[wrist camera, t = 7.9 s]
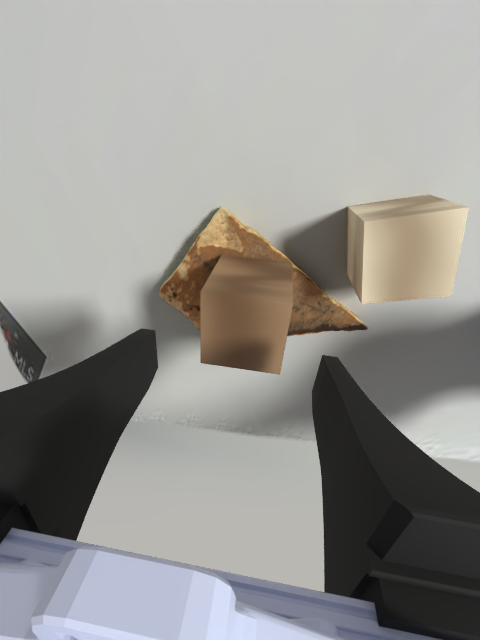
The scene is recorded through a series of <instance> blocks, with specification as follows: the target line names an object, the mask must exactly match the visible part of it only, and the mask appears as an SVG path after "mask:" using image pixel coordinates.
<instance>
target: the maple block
mask: <svg viewBox="0 0 480 640" xmlns="http://www.w3.org/2000/svg"><path fill="white" fill-rule="evenodd" d="M468 210H469V207H467V206H464V205H460V204H457V203H454V202H451V201H448V200H445V199H441V198H438V197H435V196H432V195H429V194H428V195H421V196H414V197H408V198H401V199H394V200H388V201H381V202H374V203H367V204H361V205H354V206H348V235H347V275H348V277H349V280H350V282H351V284H352V286H353V288H354V290H355V292H356V294H357V296H358V298H359V300H360V302H361V304H366V303H377V302H389V301H401V300H412V299H424V298H435V297H447V296H452V291H453V286H454V281H455V276H456V271H457V266H458V261H459V255H460V250H461V245H462V240H463V235H464V230H465V225H466V220H467V215H468Z"/></svg>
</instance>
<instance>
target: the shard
mask: <svg viewBox="0 0 480 640" xmlns="http://www.w3.org/2000/svg"><path fill="white" fill-rule="evenodd" d="M221 255H229V256H237V257H246V258H255V259H263V260H272V261H281V262H289V263H292V262H291V261H290V260H289V259H288V258H287V257H286V256H285V255H284V254H283V253H281V252H280V251H279V250H277V249H276V248H274V247H273V246H272V245H271V243H270V242H268V241H267V240H266V239H265V238H264V237H263V236H262V235H261V234H260V233H258V232H257V231H255V230H254V229H253V228H251V227H248V226H245V225H244V224H243V223H242V222H241V221H240V220H239V219H237V218H236V217H235V216H234V215H233V214H231V213H230V212H229V211H228V210H227V209H226V208H224V207H219V209H218V211H217V212H216V213H215V214H214V216H213V217H212V219H211V221H210V222H209V224H208V225H207V226H206V228H205V229H204V230H203V231H202V232H201V233H200V234H199V236H198V237H197V239H196V240H195V242H194V243H193V245H192V246H191V248H190V249H189V251H188V252H187V254H186V256H185V257H184V259H183V260H182V262H181V264H180V265H179V266H178V267H177V269H176V270H175V271H174V272H173V273H172V274H171V276H170V277H169V278H168V279H167V280H166V281H165V282H164V283H163V285H162V286H161V288H160V293H159V295H160V297H161V298H162V299H164V300H165V301H166V302H167V303H168V304H170V305H172V306H173V307H174V308H176V309H177V310H178V311H180V312H181V313H183V314H184V315H185V316H186V317H187V318H188V319H190V320H191V322H192V323H193V324H194V325H195V326H196V327H197V328H198V329H199V330H200V331H201V312H200V292H201V290H202V288H203V286H204V285H205V283H206V281H207V280H208V278H209V276H210V274H211V273H212V271H213V269H214V267H215V266H216V264H217V262H218V261H219V259H220V257H221ZM292 282H293V307H292V313H291V318H290V323H289V329H288V334H287V336H293V335H303V334H311V333H319V332H323V331H340V330H343V331H354V330H366V329H368V327H366V326H365V325H364V324H363V323H362V321H361V320H360V319H359V318H358V316H357V315H356V314H354V313H353V312H351V311H349V310H348V309H347V308H346V307H344V306H343V305H342V304H341V303H339V302H338V301H336V300H335V299H333V298H331V297H329V296H328V295H327V294H325V293H324V292H323V291H322V290H321V289H320V288H319V287H317V286H316V284H315V283H314V282H313V281H312V279H311V278H310V277H309V276H308V275H307V274H306V273H304V272H303V271H302V270H301V269H299V268H298V267H296V266H295V265H294V264H293V263H292Z"/></svg>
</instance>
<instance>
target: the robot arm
mask: <svg viewBox="0 0 480 640" xmlns="http://www.w3.org/2000/svg"><path fill="white" fill-rule="evenodd" d="M157 368H158V361H157V348H156V336H155V330H148V329H140V330H138V331H136V332H134V333H133V334H131V335H129V336H127V337H126V338H124V339H122V340H121V341H119V342H117V343H115V344H114V345H112V346H110V347H108V348H107V349H105V350H103V351H101V352H99V353H97V354H95V355H94V356H92V357H90V358H88V359H86V360H84V361H82V362H80V363H78V364H76V365H74V366H72V367H69V368H67V369H65V370H62V371H60V372H58V373H55V374H53V375H50V376H48V377H45V378H42V379H39V380H36V381H34V382H31V383H28V384H25V385H22V386H19V387H16V388H13V389H10V390H6V391H3V392H0V640H480V493H479V492H477V491H476V490H475V489H473V488H472V487H470V486H469V485H467V484H466V483H464V482H463V481H461V480H460V479H458V478H457V477H456V476H454V475H453V474H452V473H450V472H449V471H447V470H446V469H445V468H443V467H442V466H441V465H439V464H438V463H437V462H435V461H434V460H433V459H432V458H430V457H429V456H428V455H427V454H425V453H424V452H423V451H422V450H421V449H419V448H418V447H417V446H416V445H415V444H414V443H412V442H411V441H410V440H409V439H408V438H407V437H406V436H404V435H403V434H402V433H401V432H400V431H399V430H398V429H397V428H396V427H395V426H394V425H393V424H392V423H391V422H390V421H389V420H388V419H387V418H386V417H385V416H384V415H383V414H382V413H381V412H380V411H379V410H378V409H377V407H376V406H375V405H374V404H373V403H372V402H371V401H370V400H369V398H368V397H367V396H366V395H365V394H364V392H363V391H362V390H361V389H360V387H359V386H358V385H357V383H356V382H355V381H354V379H353V378H352V377H351V375H350V374H349V373H348V371H347V370H346V369H345V367H344V366H343V364H342V363H341V362H340V360H339V359H338V358H337V357H332V356H325V355H322V358H321V362H320V365H319V369H318V372H317V376H316V379H315V383H314V386H313V390H312V410H313V420H314V426H315V433H316V440H317V446H318V453H319V459H320V465H321V475H322V494H323V519H324V562H325V563H324V564H325V566H324V567H325V569H324V571H325V572H324V573H325V592H320V591H315V590H310V589H305V588H300V587H296V586H291V585H286V584H281V583H277V582H272V581H267V580H262V579H257V578H252V577H247V576H243V575H238V574H233V573H228V572H223V571H218V570H214V569H209V568H204V567H199V566H194V565H189V564H185V563H180V562H175V561H170V560H165V559H160V558H156V557H151V556H146V555H141V554H136V553H132V552H126V551H122V550H117V549H112V548H107V547H103V546H98V545H93V544H88V543H83V542H78V541H76V539H77V537H78V534H79V531H80V529H81V526H82V524H83V521H84V518H85V516H86V513H87V511H88V508H89V506H90V503H91V501H92V499H93V496H94V494H95V491H96V489H97V486H98V484H99V482H100V480H101V477H102V475H103V473H104V470H105V468H106V466H107V464H108V461H109V459H110V457H111V455H112V453H113V451H114V449H115V446H116V444H117V442H118V440H119V438H120V436H121V434H122V433H123V431H124V429H125V427H126V426H127V424H128V422H129V421H130V419H131V417H132V416H133V414H134V412H135V411H136V409H137V407H138V406H139V404H140V402H141V401H142V399H143V397H144V396H145V394H146V392H147V391H148V389H149V387H150V385H151V383H152V380H153V378H154V376H155V373H156V371H157Z"/></svg>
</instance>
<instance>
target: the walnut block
mask: <svg viewBox="0 0 480 640" xmlns="http://www.w3.org/2000/svg"><path fill="white" fill-rule="evenodd" d="M292 307H293V282H292V263H289V262H281V261H272V260H263V259H255V258H246V257H237V256H229V255H221V257H220V259H219V261H218V262H217V264H216V266H215V267H214V269H213V271H212V273H211V274H210V276H209V278H208V280H207V281H206V283H205V285H204V286H203V288H202V290H201V292H200V312H201V363H205V364H212V365H218V366H225V367H232V368H239V369H246V370H253V371H259V372H266V373H273V374H280V371H281V366H282V360H283V355H284V350H285V344H286V339H287V334H288V329H289V323H290V318H291V313H292Z"/></svg>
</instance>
